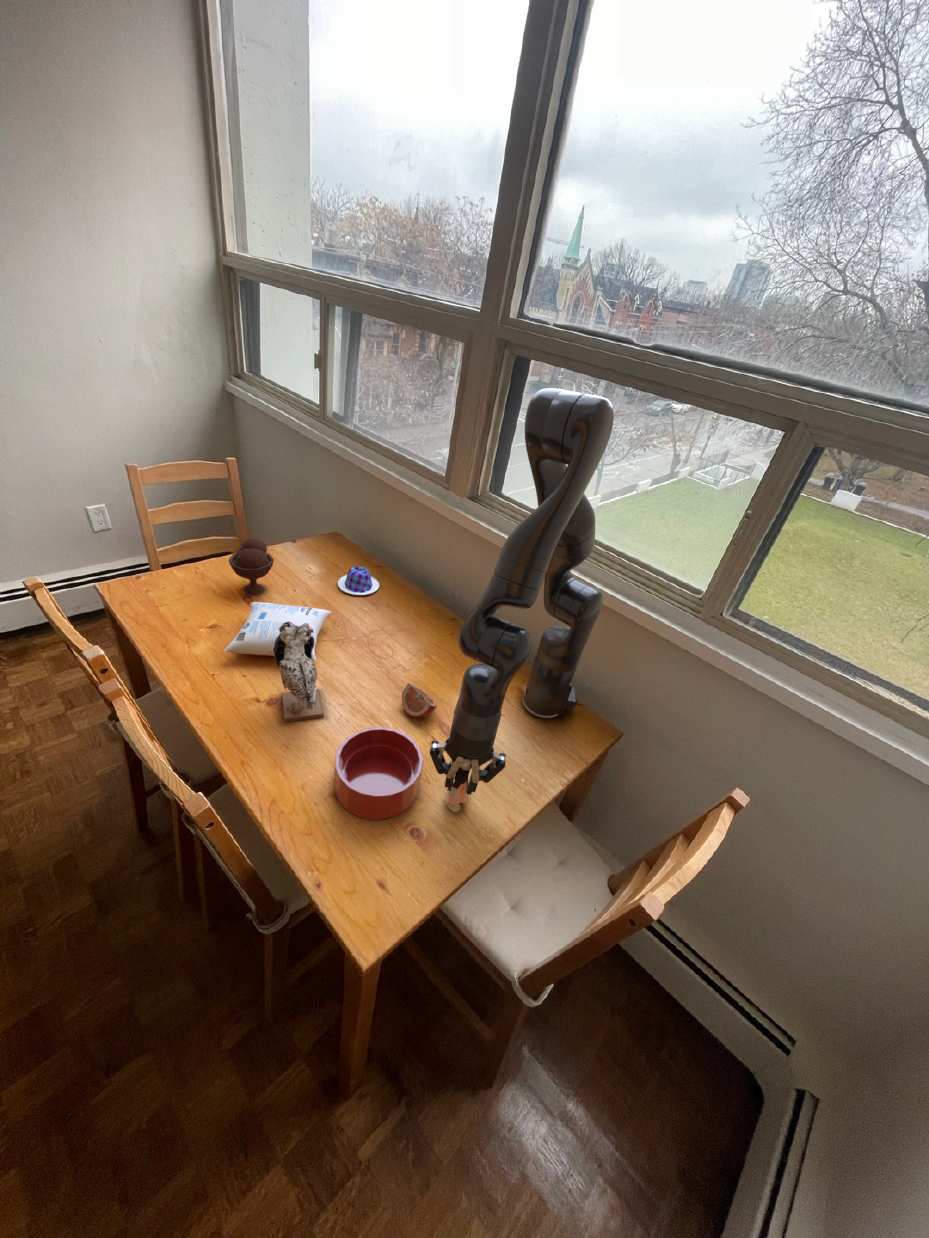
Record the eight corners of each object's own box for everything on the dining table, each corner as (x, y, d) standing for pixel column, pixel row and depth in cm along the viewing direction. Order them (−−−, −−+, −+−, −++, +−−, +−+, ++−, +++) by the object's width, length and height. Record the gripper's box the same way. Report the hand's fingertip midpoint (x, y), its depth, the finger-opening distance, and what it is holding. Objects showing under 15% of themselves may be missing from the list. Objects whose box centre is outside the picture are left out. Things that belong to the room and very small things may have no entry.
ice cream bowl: (232, 580, 142) (227, 531, 134) (275, 579, 146) (272, 532, 137) (230, 601, 134) (224, 550, 126) (275, 599, 138) (272, 550, 129)
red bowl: (424, 759, 101) (428, 735, 97) (410, 828, 88) (414, 803, 84) (348, 745, 101) (349, 720, 97) (322, 812, 88) (322, 786, 84)
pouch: (221, 635, 110) (315, 642, 112) (249, 592, 126) (331, 598, 128) (225, 664, 114) (316, 670, 116) (252, 618, 130) (331, 625, 132)
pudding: (387, 586, 152) (388, 571, 149) (360, 601, 143) (361, 586, 140) (356, 571, 157) (357, 556, 154) (328, 585, 148) (329, 569, 145)
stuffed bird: (304, 671, 116) (303, 608, 107) (346, 726, 104) (349, 662, 95) (260, 685, 110) (255, 620, 101) (300, 746, 99) (298, 679, 89)
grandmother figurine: (462, 819, 91) (475, 773, 84) (442, 813, 91) (452, 767, 84) (470, 785, 97) (482, 740, 90) (451, 780, 98) (462, 734, 91)
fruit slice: (394, 703, 112) (396, 687, 109) (419, 693, 116) (421, 676, 113) (416, 727, 107) (419, 711, 105) (441, 716, 111) (444, 699, 109)
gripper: (429, 730, 80) (418, 799, 89) (517, 747, 80) (496, 813, 89) (436, 698, 86) (425, 765, 96) (518, 713, 86) (498, 779, 96)
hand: (459, 788), depth 93 cm, fingers closed on grandmother figurine, 3 cm apart
